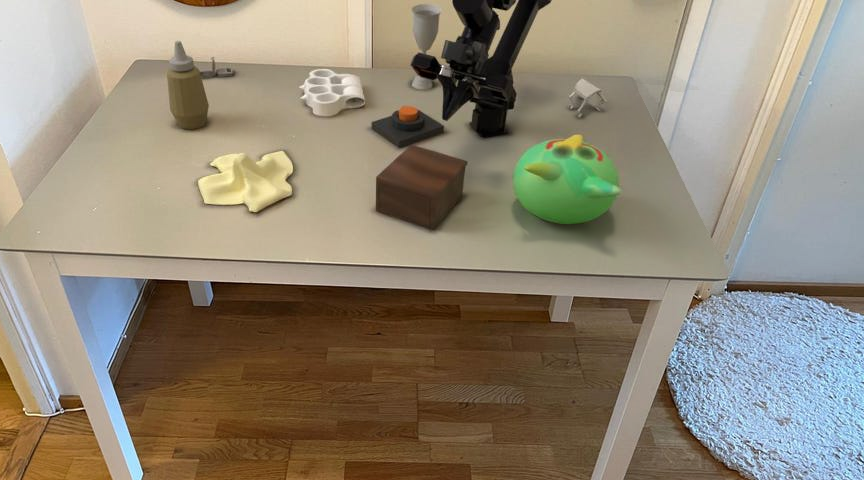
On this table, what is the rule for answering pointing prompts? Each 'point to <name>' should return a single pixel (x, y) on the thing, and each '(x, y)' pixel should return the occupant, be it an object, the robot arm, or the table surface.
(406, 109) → the button
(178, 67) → the squeeze bottle
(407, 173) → the lid
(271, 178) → the cloth
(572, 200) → the toy bird
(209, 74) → the strap clip
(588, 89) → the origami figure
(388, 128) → the button block
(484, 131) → the robot arm
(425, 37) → the chalice
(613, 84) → the table surface
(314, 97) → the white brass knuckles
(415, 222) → the tea box
